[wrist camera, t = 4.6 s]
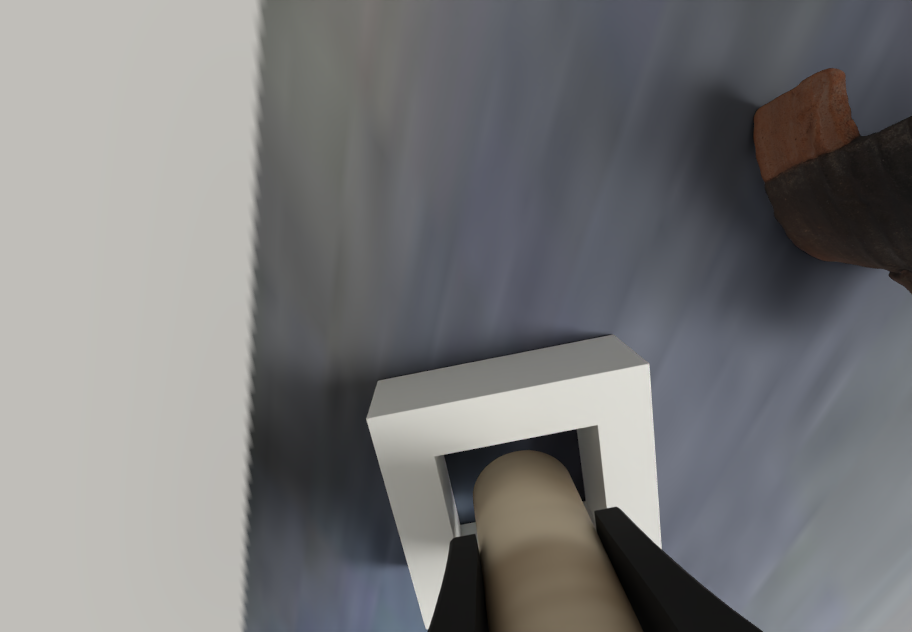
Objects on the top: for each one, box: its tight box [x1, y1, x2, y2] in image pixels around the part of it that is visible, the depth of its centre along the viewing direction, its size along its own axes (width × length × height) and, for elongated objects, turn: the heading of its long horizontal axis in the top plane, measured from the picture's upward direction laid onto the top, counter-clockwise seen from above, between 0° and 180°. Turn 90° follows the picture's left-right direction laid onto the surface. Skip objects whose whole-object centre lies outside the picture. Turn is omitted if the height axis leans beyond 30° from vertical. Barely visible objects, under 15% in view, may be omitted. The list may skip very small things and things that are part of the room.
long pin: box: [473, 450, 643, 632], centre depth 10 cm, size 3×3×7 cm
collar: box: [366, 335, 662, 629], centre depth 14 cm, size 8×8×2 cm
